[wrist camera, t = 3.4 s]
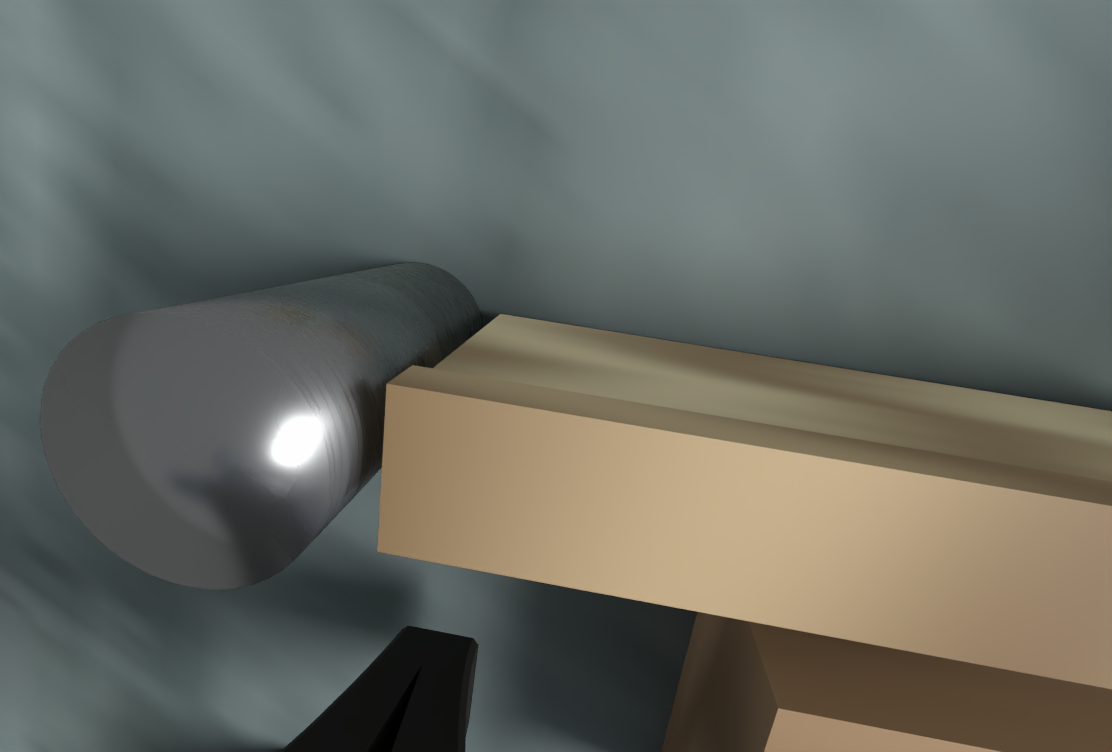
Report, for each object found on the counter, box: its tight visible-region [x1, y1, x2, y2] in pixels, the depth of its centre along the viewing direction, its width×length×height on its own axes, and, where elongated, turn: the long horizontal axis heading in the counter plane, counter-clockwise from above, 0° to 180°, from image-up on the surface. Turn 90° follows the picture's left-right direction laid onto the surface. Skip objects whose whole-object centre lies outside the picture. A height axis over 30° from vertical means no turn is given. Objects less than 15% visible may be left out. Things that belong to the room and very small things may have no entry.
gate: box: [377, 314, 1112, 689], centre depth 7 cm, size 11×2×5 cm, turn 82°
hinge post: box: [40, 262, 483, 590], centre depth 7 cm, size 2×2×6 cm
